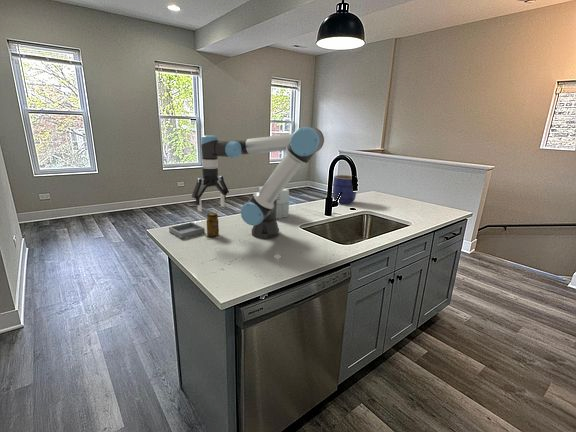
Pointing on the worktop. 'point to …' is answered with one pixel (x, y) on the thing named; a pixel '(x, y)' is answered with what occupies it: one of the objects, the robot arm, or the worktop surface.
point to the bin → (186, 230)
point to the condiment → (212, 226)
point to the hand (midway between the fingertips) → (211, 208)
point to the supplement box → (282, 204)
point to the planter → (343, 189)
